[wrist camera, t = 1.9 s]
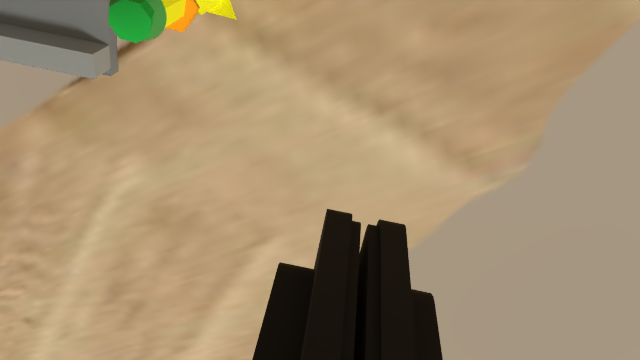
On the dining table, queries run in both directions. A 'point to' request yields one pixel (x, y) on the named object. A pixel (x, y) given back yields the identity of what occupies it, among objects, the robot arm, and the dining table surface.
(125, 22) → the toy figure
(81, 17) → the u rest
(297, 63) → the dining table surface
